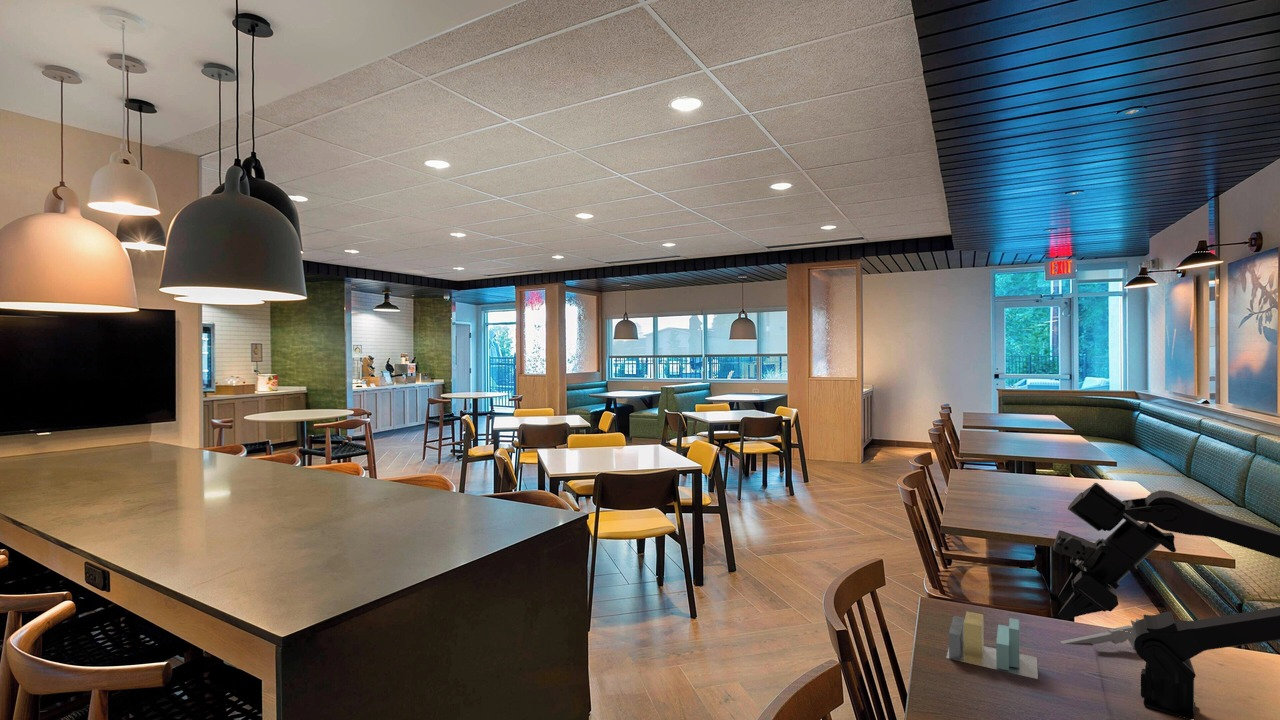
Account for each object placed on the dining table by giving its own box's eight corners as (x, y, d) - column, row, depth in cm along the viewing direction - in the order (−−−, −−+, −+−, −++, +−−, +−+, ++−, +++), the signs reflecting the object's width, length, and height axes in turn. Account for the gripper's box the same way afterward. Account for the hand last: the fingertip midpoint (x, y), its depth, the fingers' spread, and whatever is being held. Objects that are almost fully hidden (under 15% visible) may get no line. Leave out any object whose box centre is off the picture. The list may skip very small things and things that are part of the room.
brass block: (983, 649, 122) (983, 614, 122) (981, 662, 117) (981, 626, 117) (966, 645, 123) (966, 611, 123) (964, 658, 118) (963, 622, 118)
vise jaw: (1019, 652, 120) (1019, 615, 120) (1019, 672, 112) (1018, 634, 112) (998, 647, 122) (998, 612, 122) (996, 667, 114) (996, 629, 114)
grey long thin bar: (1143, 648, 125) (1143, 618, 125) (1147, 651, 124) (1147, 620, 124) (1044, 649, 125) (1044, 619, 125) (1047, 652, 124) (1047, 621, 123)
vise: (1037, 665, 118) (1036, 632, 118) (1037, 687, 111) (1037, 651, 111) (951, 646, 126) (950, 615, 126) (946, 665, 119) (945, 632, 119)
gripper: (1077, 506, 119) (1021, 561, 124) (1080, 530, 103) (1016, 591, 109) (1136, 547, 114) (1075, 603, 119) (1148, 579, 98) (1078, 641, 104)
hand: (1060, 608), depth 113 cm, fingers open, 9 cm apart
